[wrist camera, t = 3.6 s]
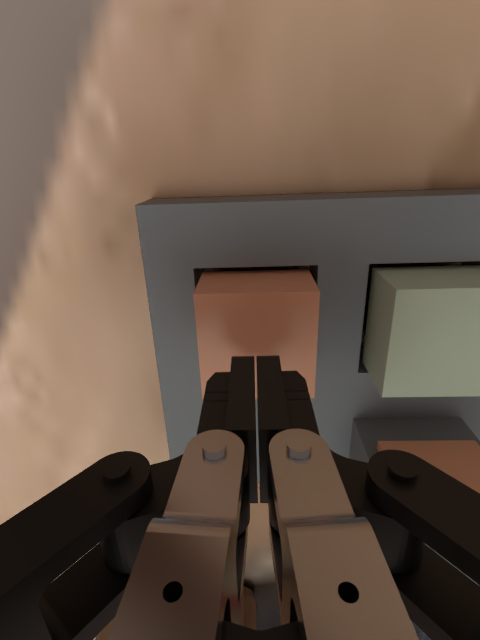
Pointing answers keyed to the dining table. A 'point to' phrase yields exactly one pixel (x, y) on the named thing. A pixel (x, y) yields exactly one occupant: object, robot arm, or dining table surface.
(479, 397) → the console
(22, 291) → the dining table surface
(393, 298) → the sage button
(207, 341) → the terracotta button
